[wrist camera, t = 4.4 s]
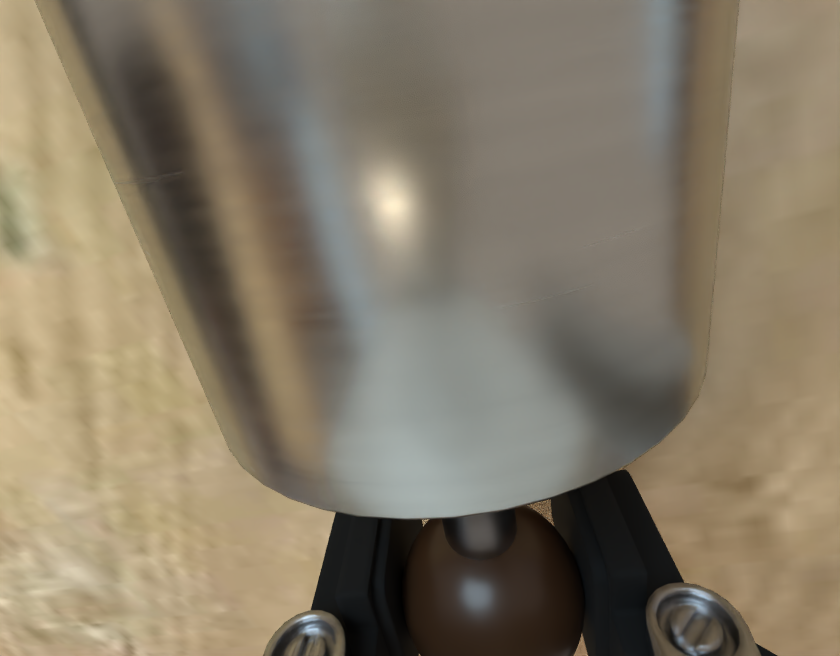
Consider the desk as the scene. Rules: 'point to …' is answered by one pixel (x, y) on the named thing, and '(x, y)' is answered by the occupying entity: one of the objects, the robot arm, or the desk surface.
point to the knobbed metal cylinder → (427, 256)
